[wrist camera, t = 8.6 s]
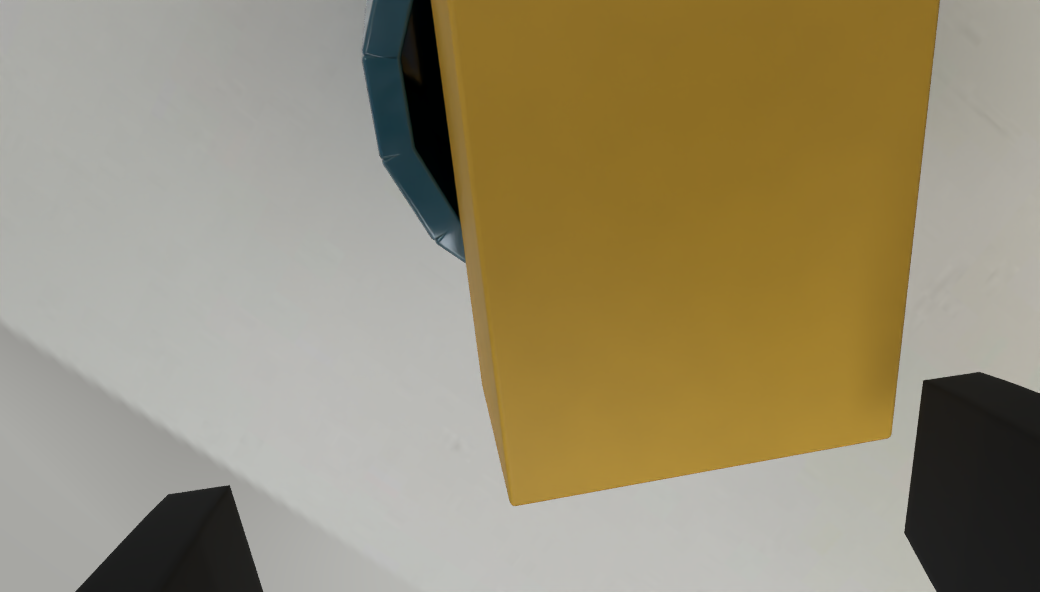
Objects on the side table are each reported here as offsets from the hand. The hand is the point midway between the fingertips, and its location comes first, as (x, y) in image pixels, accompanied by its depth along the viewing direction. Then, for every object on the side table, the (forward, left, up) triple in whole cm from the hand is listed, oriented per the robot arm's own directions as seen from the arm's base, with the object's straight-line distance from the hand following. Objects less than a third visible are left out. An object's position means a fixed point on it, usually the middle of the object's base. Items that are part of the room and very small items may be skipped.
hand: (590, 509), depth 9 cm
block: (+3, +3, -4) cm, 6 cm away
